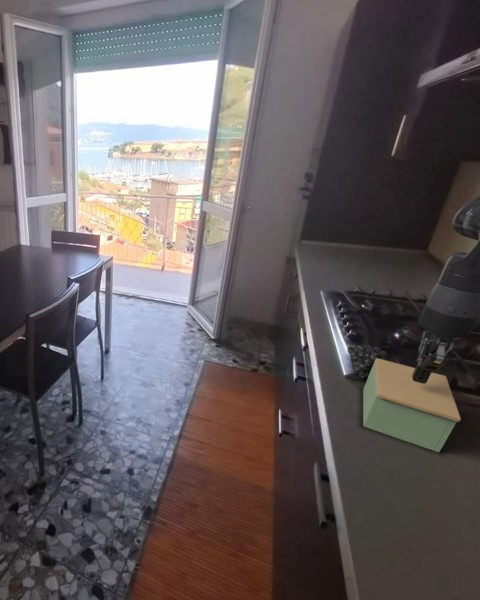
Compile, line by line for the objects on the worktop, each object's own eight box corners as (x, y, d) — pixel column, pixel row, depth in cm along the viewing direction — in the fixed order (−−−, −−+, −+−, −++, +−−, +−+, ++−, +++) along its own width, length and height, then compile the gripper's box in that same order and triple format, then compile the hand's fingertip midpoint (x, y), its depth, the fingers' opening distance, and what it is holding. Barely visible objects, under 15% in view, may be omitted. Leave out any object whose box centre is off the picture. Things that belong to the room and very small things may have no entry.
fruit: (353, 326, 102) (374, 353, 89) (382, 338, 101) (408, 367, 88) (334, 349, 106) (351, 378, 93) (362, 361, 105) (384, 392, 92)
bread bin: (439, 452, 73) (458, 420, 69) (363, 426, 79) (376, 395, 76) (428, 409, 84) (444, 379, 80) (363, 389, 91) (374, 360, 87)
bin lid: (459, 422, 68) (461, 419, 68) (376, 397, 75) (378, 394, 75) (444, 378, 80) (446, 376, 80) (374, 360, 87) (375, 357, 87)
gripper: (489, 326, 61) (447, 405, 68) (472, 299, 71) (437, 371, 78) (431, 315, 65) (397, 390, 72) (422, 291, 75) (393, 360, 82)
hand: (418, 380), depth 75 cm, fingers closed
